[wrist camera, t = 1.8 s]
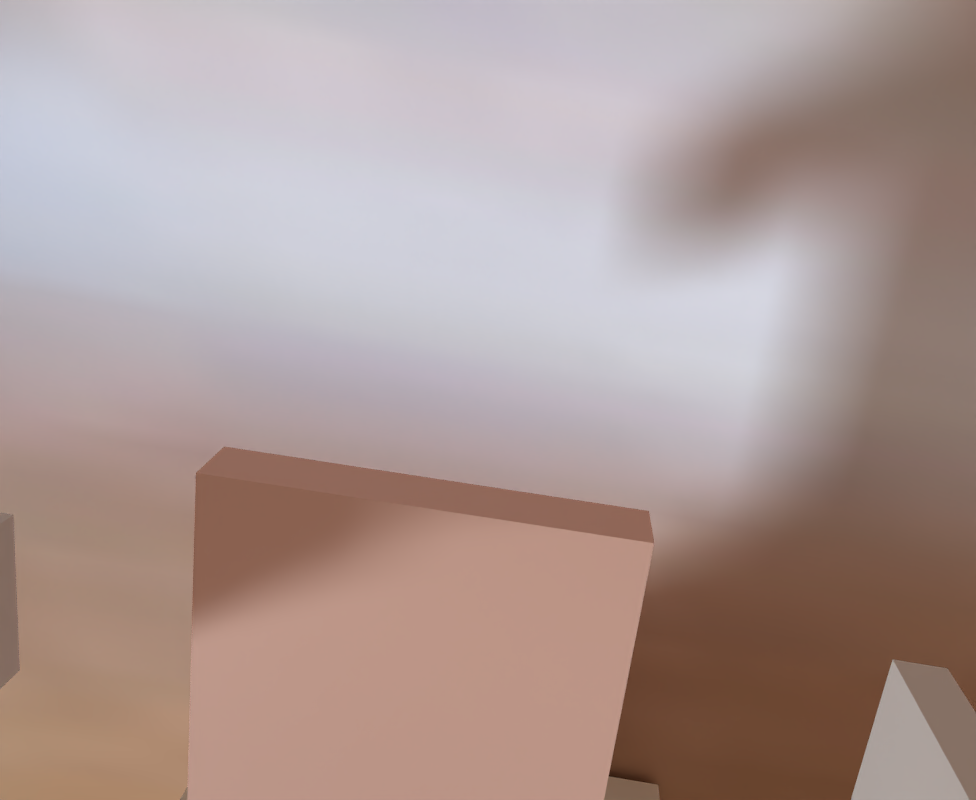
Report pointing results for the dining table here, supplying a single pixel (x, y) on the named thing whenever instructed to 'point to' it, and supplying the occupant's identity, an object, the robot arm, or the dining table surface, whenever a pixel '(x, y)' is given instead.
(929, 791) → the robot arm
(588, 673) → the ticket strip
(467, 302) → the dining table surface
